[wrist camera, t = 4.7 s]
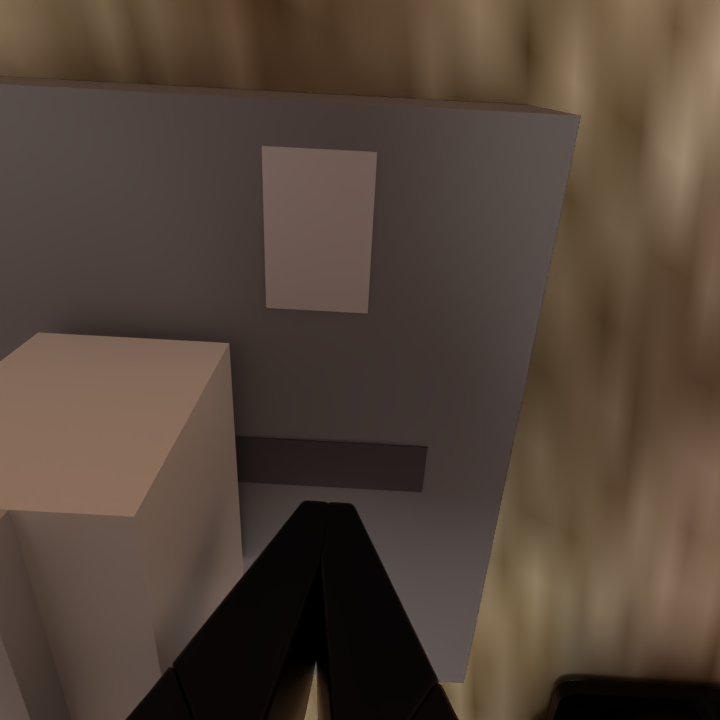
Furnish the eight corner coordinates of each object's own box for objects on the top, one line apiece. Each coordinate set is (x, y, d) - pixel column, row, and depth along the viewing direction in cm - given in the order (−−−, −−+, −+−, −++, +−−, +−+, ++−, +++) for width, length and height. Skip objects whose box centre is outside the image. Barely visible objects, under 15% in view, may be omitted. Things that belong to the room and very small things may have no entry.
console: (527, 105, 10) (581, 115, 8) (448, 578, 16) (463, 684, 13) (-570, 45, 10) (-909, 34, 8) (-271, 538, 16) (-406, 635, 13)
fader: (229, 342, 9) (109, 561, 5) (243, 573, 11) (169, 850, 7) (38, 332, 9) (-236, 542, 5) (90, 564, 11) (-67, 836, 7)
